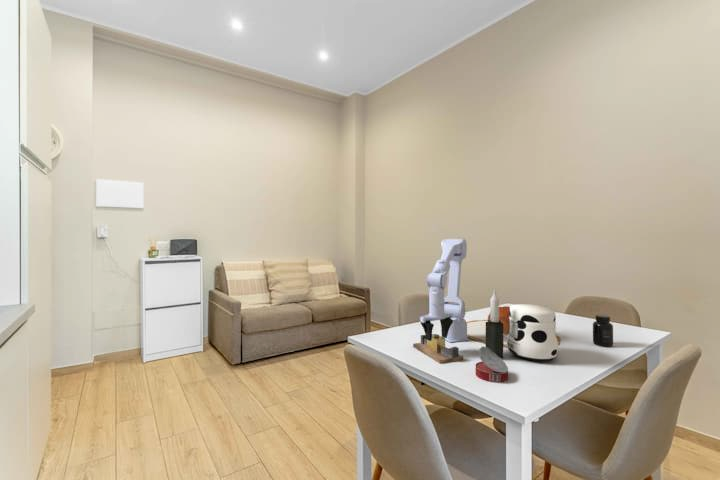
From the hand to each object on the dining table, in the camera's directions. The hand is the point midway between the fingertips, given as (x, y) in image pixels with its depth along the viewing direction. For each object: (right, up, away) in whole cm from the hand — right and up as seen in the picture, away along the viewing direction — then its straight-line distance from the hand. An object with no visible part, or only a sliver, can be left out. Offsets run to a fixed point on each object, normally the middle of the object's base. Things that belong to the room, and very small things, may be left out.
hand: (436, 338), depth 127 cm
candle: (+21, -6, -4) cm, 22 cm away
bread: (+44, -6, +26) cm, 51 cm away
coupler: (0, -4, 0) cm, 4 cm away
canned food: (+13, -6, -21) cm, 25 cm away
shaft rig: (0, -6, 0) cm, 6 cm away
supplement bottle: (+71, -6, +9) cm, 72 cm away
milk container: (+35, -6, -3) cm, 36 cm away
